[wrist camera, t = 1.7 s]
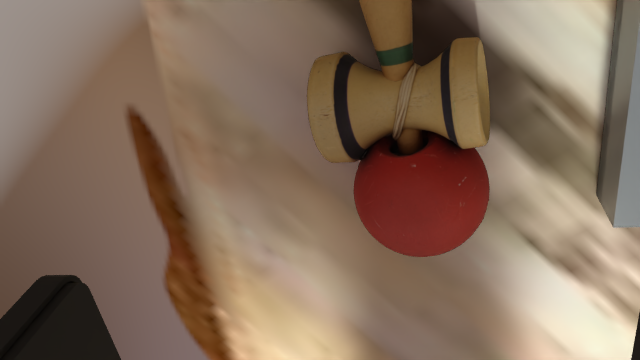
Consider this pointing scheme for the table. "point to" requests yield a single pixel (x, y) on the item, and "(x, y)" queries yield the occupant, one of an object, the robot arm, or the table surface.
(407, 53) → the kendama
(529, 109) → the table surface
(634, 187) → the cradle tray
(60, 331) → the robot arm
